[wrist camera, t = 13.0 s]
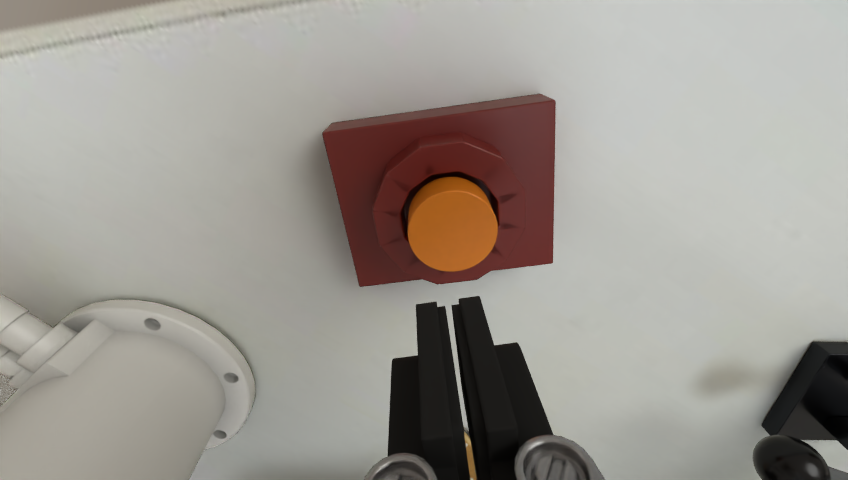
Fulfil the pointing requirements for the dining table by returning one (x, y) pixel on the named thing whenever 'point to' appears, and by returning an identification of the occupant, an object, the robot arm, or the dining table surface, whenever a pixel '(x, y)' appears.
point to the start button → (451, 224)
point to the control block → (446, 157)
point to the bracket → (815, 397)
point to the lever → (791, 461)
